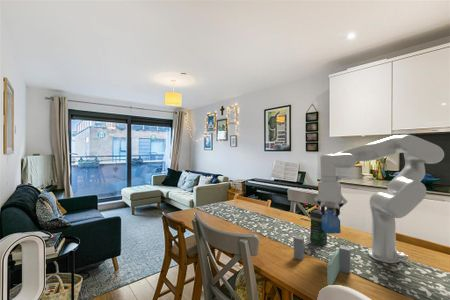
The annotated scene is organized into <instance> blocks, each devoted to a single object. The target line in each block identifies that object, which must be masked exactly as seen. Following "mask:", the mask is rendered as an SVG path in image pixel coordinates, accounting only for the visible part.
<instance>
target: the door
mask: <svg viewBox="0 0 450 300" xmlns="http://www.w3.org/2000/svg"><path fill="white" fill-rule="evenodd" d="M326 269H327V270H326V271H327V272H326V273H327V277H326V278H327V282H326V283H327V284H326V285H327V286H328V285H332V286H333V285H334V283H335V281H336V280H337V277H338V275H339V273H340V271H339V249H336V250H335V251H334V253H333V254H332V256H331V257H330V258H329V261H328V262H327V265H326ZM327 286H326V287H327Z"/></svg>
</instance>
